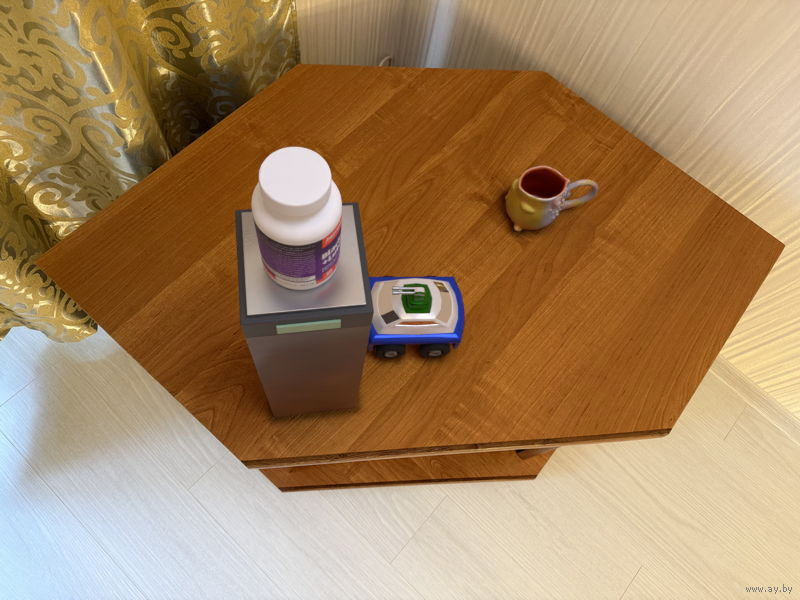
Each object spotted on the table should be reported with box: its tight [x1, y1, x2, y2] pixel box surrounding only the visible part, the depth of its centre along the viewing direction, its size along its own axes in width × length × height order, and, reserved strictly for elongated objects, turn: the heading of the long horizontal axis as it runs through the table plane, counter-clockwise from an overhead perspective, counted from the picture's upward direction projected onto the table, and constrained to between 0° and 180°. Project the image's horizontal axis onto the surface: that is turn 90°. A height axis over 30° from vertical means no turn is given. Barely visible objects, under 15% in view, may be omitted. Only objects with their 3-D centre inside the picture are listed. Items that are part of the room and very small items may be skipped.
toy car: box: [367, 275, 466, 359], centre depth 67 cm, size 9×12×10 cm
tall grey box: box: [234, 201, 374, 418], centre depth 55 cm, size 9×9×28 cm
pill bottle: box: [250, 146, 343, 290], centre depth 37 cm, size 5×5×10 cm
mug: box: [504, 165, 600, 232], centre depth 77 cm, size 12×7×7 cm, turn 97°
